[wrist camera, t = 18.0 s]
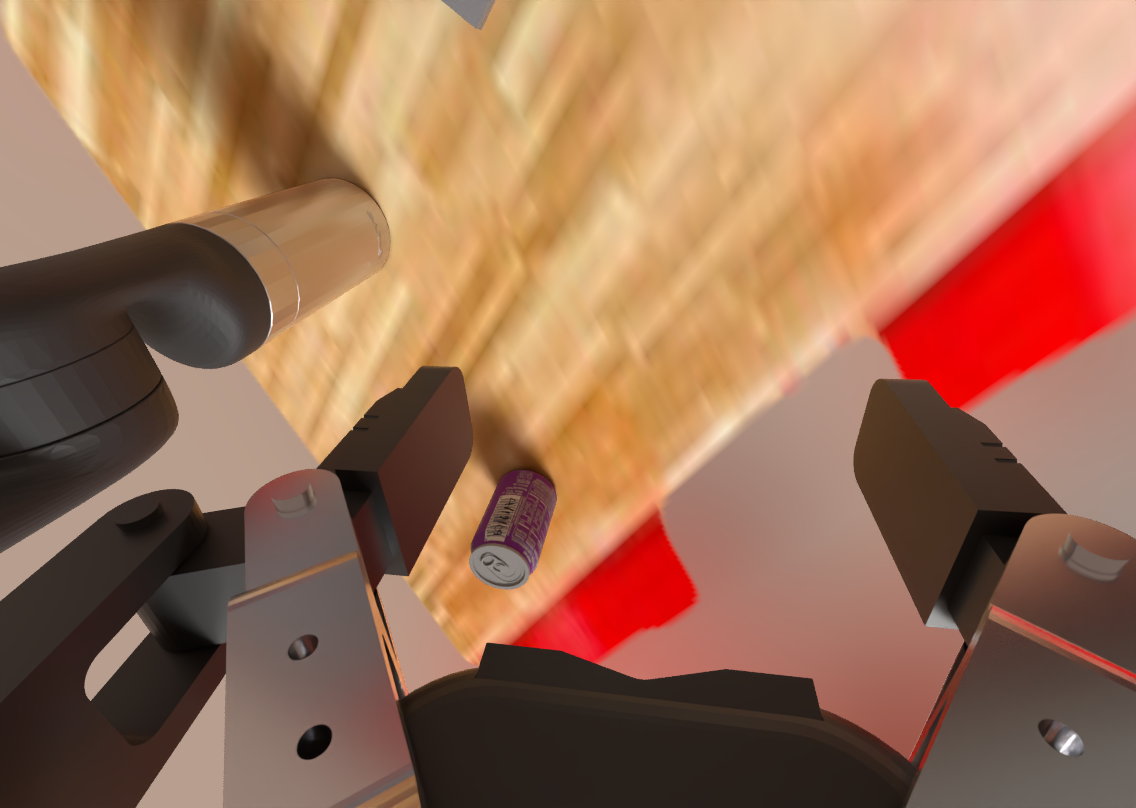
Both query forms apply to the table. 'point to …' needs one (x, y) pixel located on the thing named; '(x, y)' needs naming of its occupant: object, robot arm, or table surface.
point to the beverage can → (513, 530)
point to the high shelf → (472, 10)
